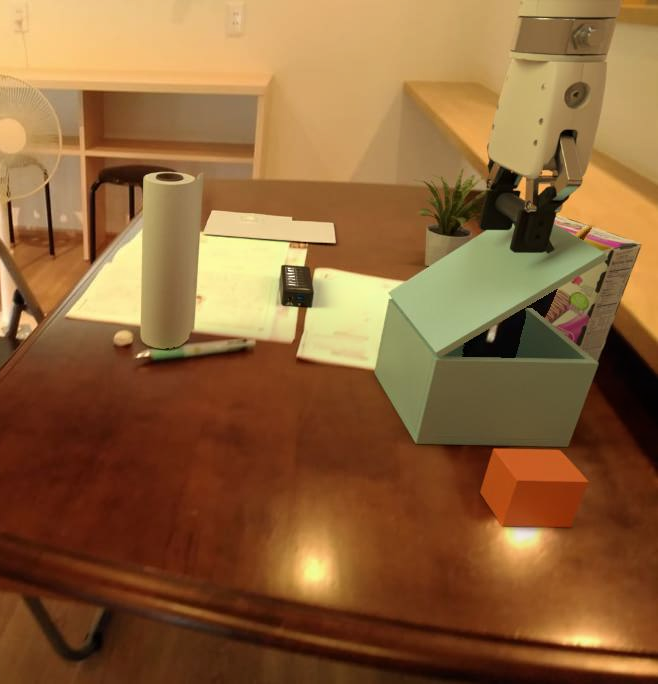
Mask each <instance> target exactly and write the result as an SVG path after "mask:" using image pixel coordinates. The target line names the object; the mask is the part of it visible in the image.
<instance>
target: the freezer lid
mask: <svg viewBox="0 0 658 684" xmlns="http://www.w3.org/2000/svg"><path fill="white" fill-rule="evenodd" d="M495 206H496V209H497V210H498V211H500V212H501V213H503V214H505V215H506V216H508V217H509V218H510V219H511V220H512V222H513V225H512V228H511V229H510V230H484V231H483V232H481V233H480V234H478V235H476V236H475V237H474V238H471V239H470V241H469V242H467V243H466V244H464V245H462V246H461V247H459V248H458V249H456V250H454V251H453V252H451V253H450V254H448V255H447V256H445V257H443V258H442V259H440V260H439V261H437V262H435V263H434V264H432V265H431V266H429V267H426V268H424V269H423V270H421V271H420V272H418V273H416V274H415V275H413V276H412V277H410V278H408V279H407V280H405V281H404V282H402V283H401V284H399V285H397V286H396V287H394V288H393V289H391V290H390V291H388V292H387V294H388V295H389V296H390V299H393V300H394V302H395V303H396V304H397V305H398V307H399V308H400V309H401V310H402V312H403V313H404V314H405V316H406V317H407V318H408V319H409V321H410V322H411V323H412V324H413V326H414V327H415V328H416V329H417V331H418V332H419V333H420V335H421V336H422V337H423V338H424V340H425V341H426V342H427V343H428V345H429V346H430V347H431V348H432V350H433V351H434V352H435V354H436V355H437V356H438V357H439V358H440V357H442V356H444V355H445V354H447V353H449V352H451V351H452V350H454V349H456V348H457V347H459V346H461V345H463V344H464V343H466V342H468V341H469V340H471V339H473V338H474V337H476V336H478V335H480V334H481V333H483V332H485V331H486V330H488V329H490V328H491V327H493V326H495V325H497V324H498V323H500V322H502V321H503V320H505V319H507V318H509V317H510V316H512V315H514V314H515V313H517V312H519V311H520V310H522V309H524V308H526V307H527V306H529V305H531V304H532V303H534V302H536V301H537V300H539V299H541V298H543V297H544V296H546V295H548V294H549V293H551V292H553V291H554V290H556V289H558V288H560V287H561V286H563V285H565V284H566V283H568V282H570V281H572V280H573V279H575V278H577V277H578V276H580V275H582V274H583V273H585V272H587V271H589V270H590V269H592V268H594V267H595V266H597V265H599V264H600V263H602V262H604V261H606V260H607V259H608V258H607V256H606V254H605V253H604V252H603V251H601V250H599V249H597V248H596V247H594V246H592V245H590V244H589V243H587V242H585V241H584V240H582V239H580V238H578V237H577V236H575V235H573V234H571V233H570V232H568V231H566V230H564V229H563V228H561V227H559V226H557V225H556V224H554V225H553V228H552V232H551V235H550V239H549V243H548V246H547V249H546V251H545V252H543V253H514V252H513V251H511V250H510V244H511V240H512V236H513V232H514V229H515V225H516V221H517V217H518V213H519V209H525V199H523V198H521V197H518V196H516V195H514V194H512V193H509V192H507V193H503V194H501V195H500V196H499V197H498V198H497V200H496V202H495Z"/></svg>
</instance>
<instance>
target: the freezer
mask: <svg viewBox="0 0 658 684" xmlns="http://www.w3.org/2000/svg"><path fill="white" fill-rule="evenodd" d="M525 311H526V319H525V324H524V326H523V330H522V334H521V337H520V344H519V347H518V351H517V354H516V357H515V358H501V357H462V356H463V355H462V354H464V353H463V351H462V350H463V348H464V347H463V346H465V345H464V344H463V345H461V346H459V347H457V348H456V349H454V350H452V351H451V352H449V353H447V354H445V355H444V356H442V357H440V358H439V357H438V356H437V355H436V354H435V352H434V351H433V350H432V348H431V347H430V346H429V345H428V343H427V342H426V341H425V340H424V338H423V337H422V336H421V335H420V333H419V332H418V331H417V329H416V328H415V327H414V326H413V324H412V323H411V322H410V321H409V319H408V318H407V317H406V316H405V314H404V313H403V312H402V310H401V309H400V308H399V307H398V305H397V304H396V303H395V302H394V300H393V299H392V298H388V302H387V306H386V312H385V317H384V322H383V327H382V331H381V335H380V336H381V337H380V340H379V341H380V342H379V347H378V352H377V357H376V361H375V367H374V372H373V373H374V376H375V377H376V379H377V381H378V382H379V384H380V386H381V387H382V389H383V390H384V392H385V394H386V396H387V397H388V399H389V401H390V403H391V404H392V406H393V408H394V410H395V411H396V412H397V414H398V416H399V418H400V420H401V421H402V423H403V425H404V426H405V428H406V430H407V431H408V433H409V434H410V437H411V438H412V440H413V442H414V443H415V444H416V445H451V446H452V445H454V446H456V445H457V446H496V447H497V446H499V447H500V446H501V447H503V446H504V447H548V448H549V447H553V448H556V447H557V448H568V447H569V446H570V443H571V440H572V437H573V435H574V432H575V429H576V427H577V424H578V421H579V419H580V416H581V414H582V411H583V407H584V406H585V402H586V398H587V397H588V394H589V391H590V388H591V386H592V383H593V381H594V378H595V375H596V372H597V370H598V367H599V361H598V362H597V361H596V360H594V359H593V358H592V357H591V356H590V355H588V354H587V353H586V352H585V351H584V350H582V349H581V348H580V347H579V346H578V345H576V344H575V343H574V342H573V341H572V340H570V339H569V338H568V337H567V336H566V335H564V334H563V333H562V332H561V331H560V330H558V329H557V328H556V327H555V326H553V325H552V324H551V323H550V322H549V321H547V320H546V319H545V318H544V317H543V316H541V315H540V314H539V313H538V312H537V311H535V310H534V309H533V308H526V309H525Z"/></svg>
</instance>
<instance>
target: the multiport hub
mask: <svg viewBox="0 0 658 684" xmlns="http://www.w3.org/2000/svg"><path fill="white" fill-rule="evenodd" d="M279 287H280V303H281V306H285V307H286V306H288V307H298V308H299V307H300V308H312V307H313V301H314V295H315V291H314V286H313V279H312V273H311V267H310V266H303V265H291V264H281V266H280V275H279Z"/></svg>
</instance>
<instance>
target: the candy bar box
mask: <svg viewBox="0 0 658 684" xmlns="http://www.w3.org/2000/svg"><path fill="white" fill-rule="evenodd" d="M554 224H556V225H557V226H559V227H561V228H563V229H564V230H566V231H568V232H570V233H571V234H573V235H574V234H576V233H577V232H579V231H580V230H582V229H584V228H586V227H589V226H590V225H588V224H586V223H583V222H580V221H578V220H574V219H571V218H569V217H566V216H563V215H556V217H555V221H554ZM584 241H585V242H587V243H589V244H590V245H592V246H594V247H596V248H597V249H599V250H601V251H603V252H604V253H605V254H606V256H607V258H608V259H607V260H606V261H604V262H602V263H600V264H599V265H597V266H595V267H594V268H592V269H590V270H589V271H587V272H585V273H583V274H582V275H580V276H578V277H577V278H575V279H573V280H572V281H570V282H568V283H566V284H565V285H563V286H561V287H560V288H558V290H557V292H556V295H555V297H554V300H553V302H552V304H551V307H550V309H549V311H548V313H547V315H546V317H545V319H546V320H547V321H549V322H550V323H551V324H552V325H553V326H555V327H556V328H557V329H558V330H560V331H561V332H562V333H563V334H564V335H566V336H567V337H568V338H569V339H570V340H572V341H573V342H574V343H575V344H576V345H578V346H579V347H580V348H581V349H582V350H584V351H585V352H586V353H587V354H588V355H590V356H591V357H592V358H593V359H594V360H596V361H597V362H598V363H599V361H600V358H601V356H602V352H603V350H604V347H605V344H606V343H607V339H608V337H609V334H610V331H611V328H612V325H613V322H614V320H615V319H616V315H617V312H618V309H619V307H620V304H621V301H622V300H623V296H624V293H625V291H626V288H627V286H628V283H629V280H630V277H631V275H632V272H633V269H634V267H635V264H636V262H637V259H638V256H639V253H640V250H641V248H642V245H643V244H642V243H641V242H639V241H636V240H633V239H630V238H628V237H625V236H622V235H619V234H616V233H612V232H609V231H606V230H604V229H603V230H602V229H600V228H597V227H594V226H592V229H591V230H590V232H589V233H588V234H587V236H586V237H585V239H584Z"/></svg>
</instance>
